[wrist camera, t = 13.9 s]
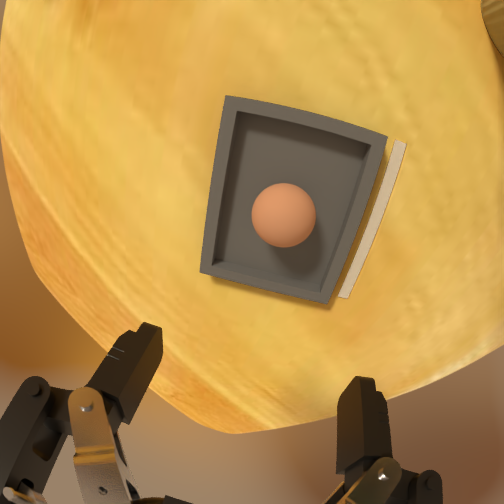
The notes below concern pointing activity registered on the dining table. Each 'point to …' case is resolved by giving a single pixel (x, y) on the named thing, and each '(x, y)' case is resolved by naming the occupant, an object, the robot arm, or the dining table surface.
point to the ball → (283, 215)
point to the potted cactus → (494, 21)
